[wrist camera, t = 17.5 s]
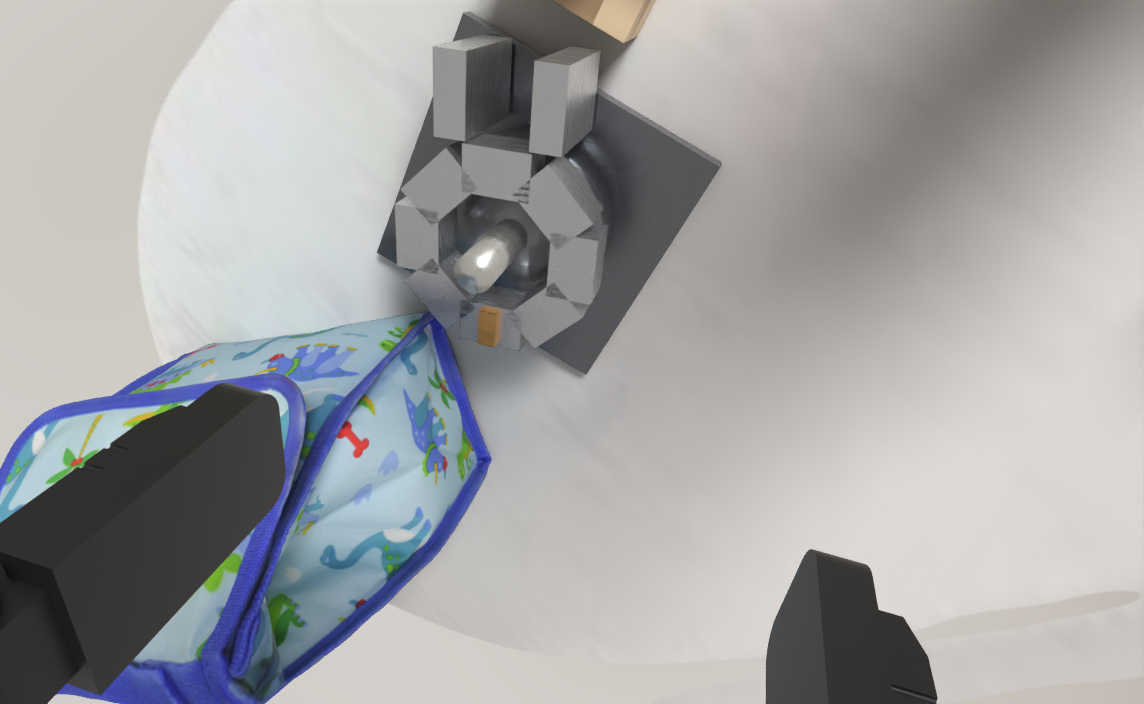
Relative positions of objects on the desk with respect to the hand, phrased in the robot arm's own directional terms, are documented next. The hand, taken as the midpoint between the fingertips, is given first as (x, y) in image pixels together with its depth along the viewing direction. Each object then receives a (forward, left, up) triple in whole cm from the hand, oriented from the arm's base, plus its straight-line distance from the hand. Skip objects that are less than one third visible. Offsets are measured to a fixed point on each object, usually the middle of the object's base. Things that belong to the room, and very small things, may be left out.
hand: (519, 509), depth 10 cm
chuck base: (+9, -6, -32) cm, 33 cm away
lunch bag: (+30, -13, -32) cm, 46 cm away
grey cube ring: (+8, -6, -30) cm, 32 cm away
